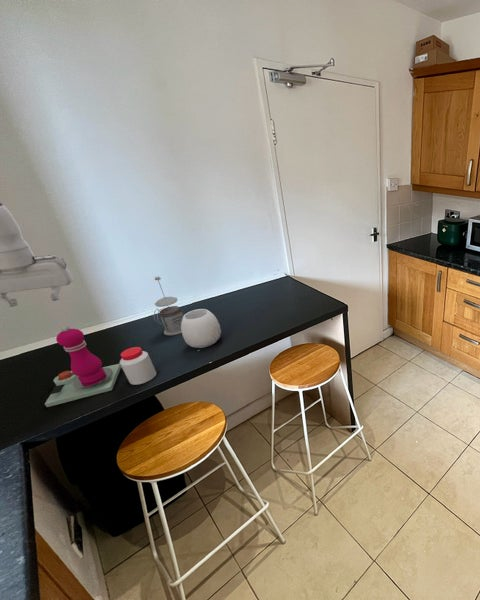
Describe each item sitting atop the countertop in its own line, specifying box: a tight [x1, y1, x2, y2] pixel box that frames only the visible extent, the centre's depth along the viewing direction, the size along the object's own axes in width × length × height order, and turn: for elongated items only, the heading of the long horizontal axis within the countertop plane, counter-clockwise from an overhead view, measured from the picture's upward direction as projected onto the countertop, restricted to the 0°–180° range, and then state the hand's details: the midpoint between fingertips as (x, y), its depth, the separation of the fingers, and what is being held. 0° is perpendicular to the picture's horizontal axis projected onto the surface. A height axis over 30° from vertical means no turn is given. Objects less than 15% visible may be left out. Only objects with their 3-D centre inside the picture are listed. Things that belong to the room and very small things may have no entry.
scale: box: [44, 363, 122, 408], centre depth 105 cm, size 16×14×3 cm
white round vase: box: [181, 308, 222, 349], centre depth 125 cm, size 13×13×14 cm
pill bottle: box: [119, 346, 157, 386], centre depth 107 cm, size 8×8×11 cm
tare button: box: [57, 370, 72, 380], centre depth 105 cm, size 3×3×2 cm
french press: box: [153, 276, 184, 336], centre depth 131 cm, size 10×12×25 cm
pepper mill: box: [55, 325, 105, 383], centre depth 100 cm, size 7×7×20 cm
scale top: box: [49, 367, 113, 396], centre depth 104 cm, size 15×10×1 cm
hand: (36, 302), depth 94 cm, fingers open, 8 cm apart
